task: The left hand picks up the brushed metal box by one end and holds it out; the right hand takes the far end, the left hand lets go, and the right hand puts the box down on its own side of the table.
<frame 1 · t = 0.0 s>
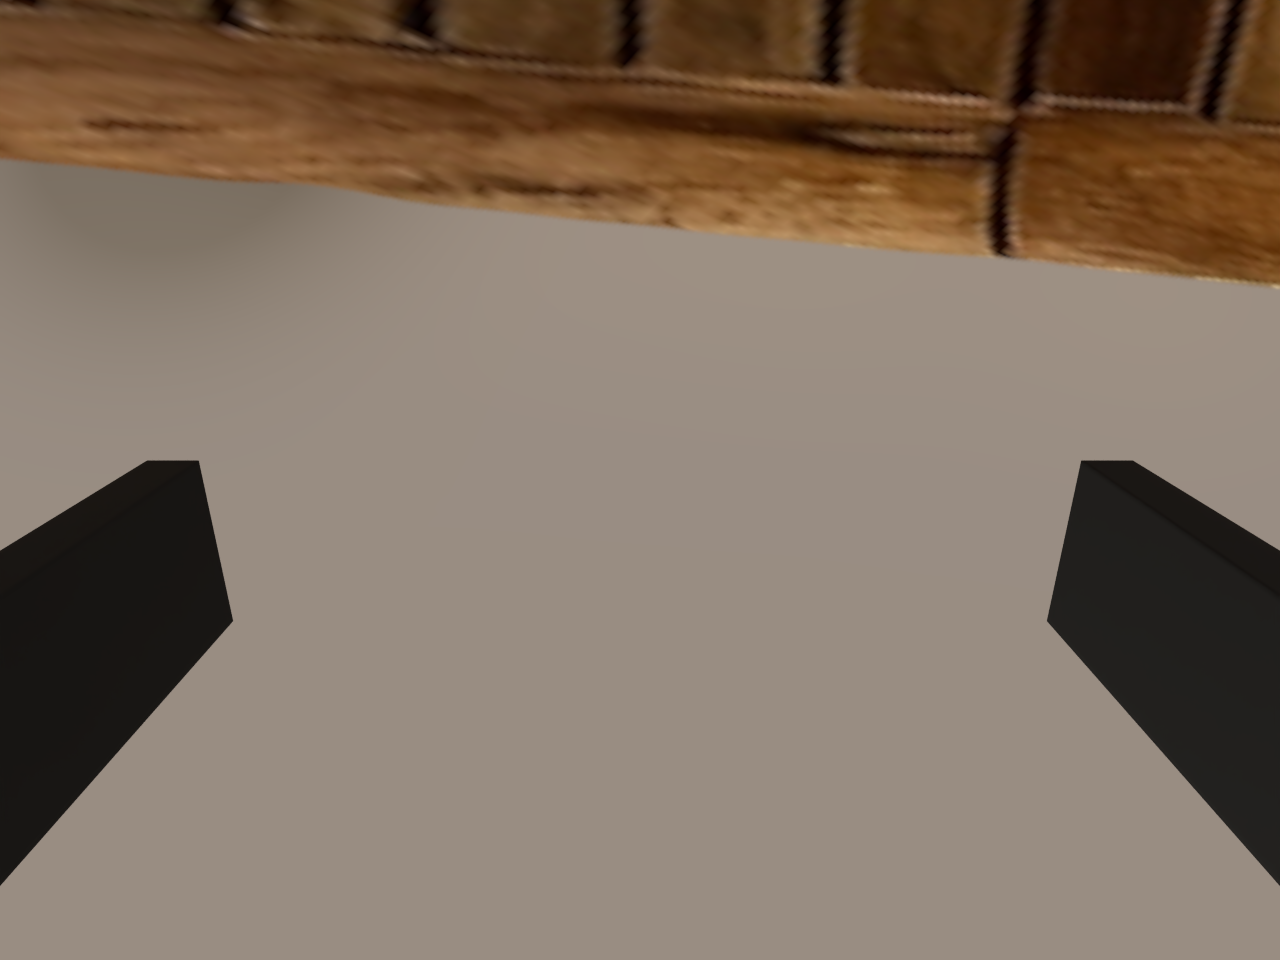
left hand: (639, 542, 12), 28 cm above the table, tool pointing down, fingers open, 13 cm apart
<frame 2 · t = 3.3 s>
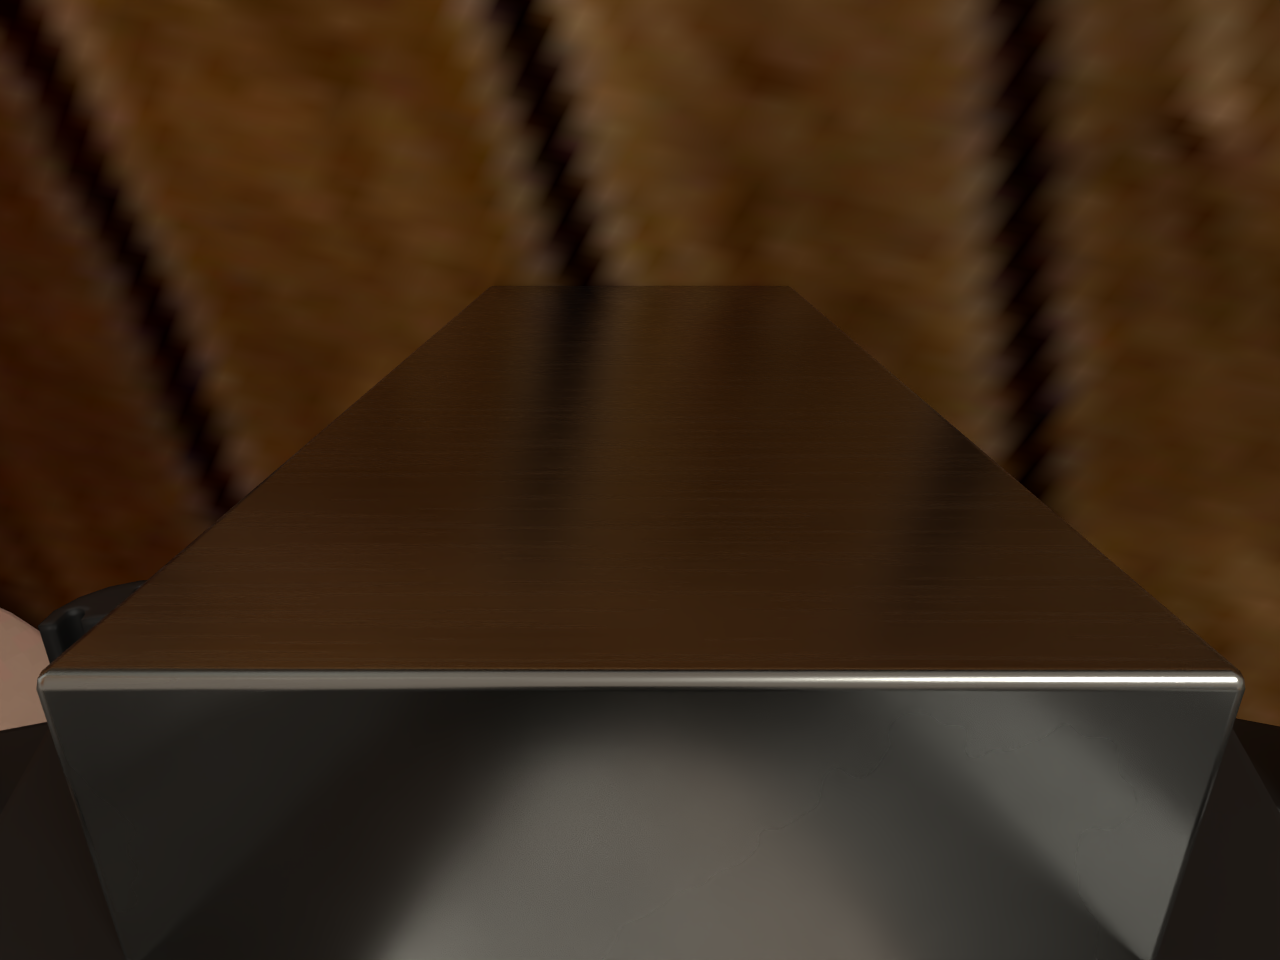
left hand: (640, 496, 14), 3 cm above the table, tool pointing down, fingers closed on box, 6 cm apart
box: (640, 819, 21), on the table, touching left hand
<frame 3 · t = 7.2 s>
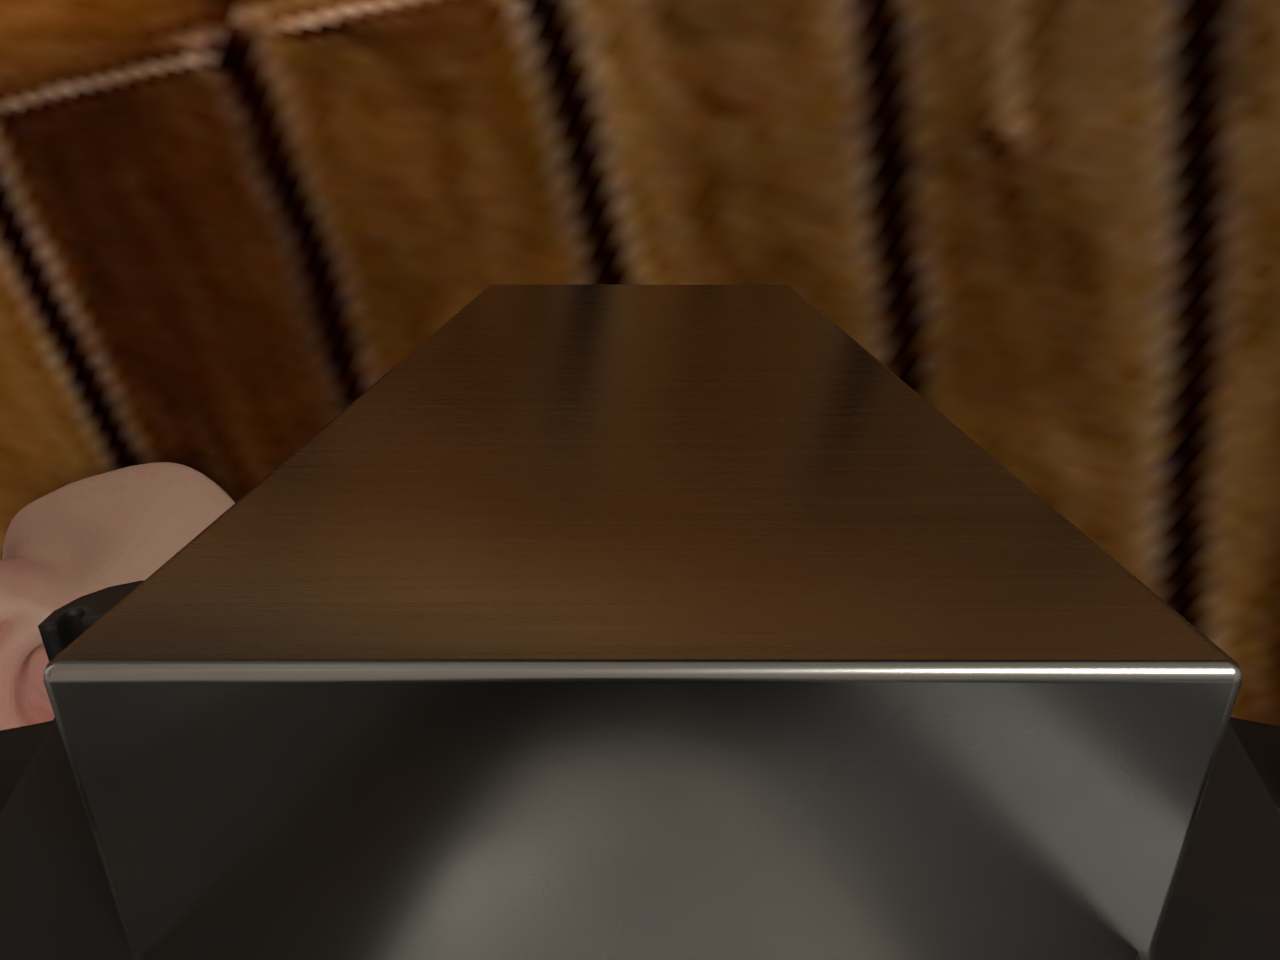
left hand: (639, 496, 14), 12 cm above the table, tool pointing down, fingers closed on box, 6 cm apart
anatomical model: (152, 633, 29), on the table
box: (639, 818, 21), point 9 cm above the table, touching left hand, right hand
when the left hand's fingers open (12 cm above the table, at t = 8.1 s): box stays where it is, held by the right hand.
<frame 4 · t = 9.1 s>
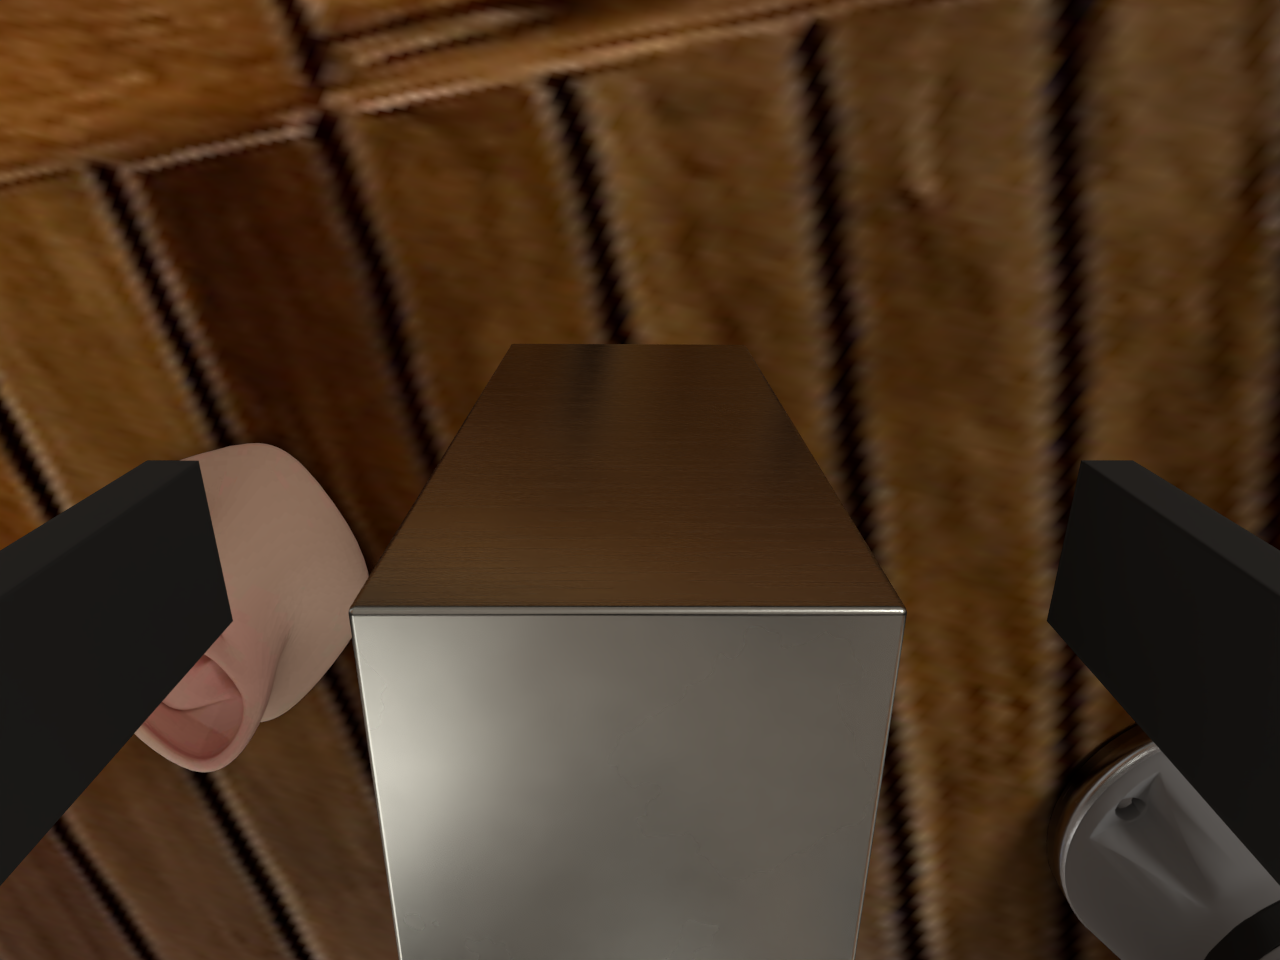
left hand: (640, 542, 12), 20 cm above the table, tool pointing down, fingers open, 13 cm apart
anatomical model: (239, 582, 36), on the table
box: (627, 769, 26), point 11 cm above the table, touching right hand
when the right hand's fingers open (9 cm above the table, at t = 14.8 s): box stays where it is, on the table.
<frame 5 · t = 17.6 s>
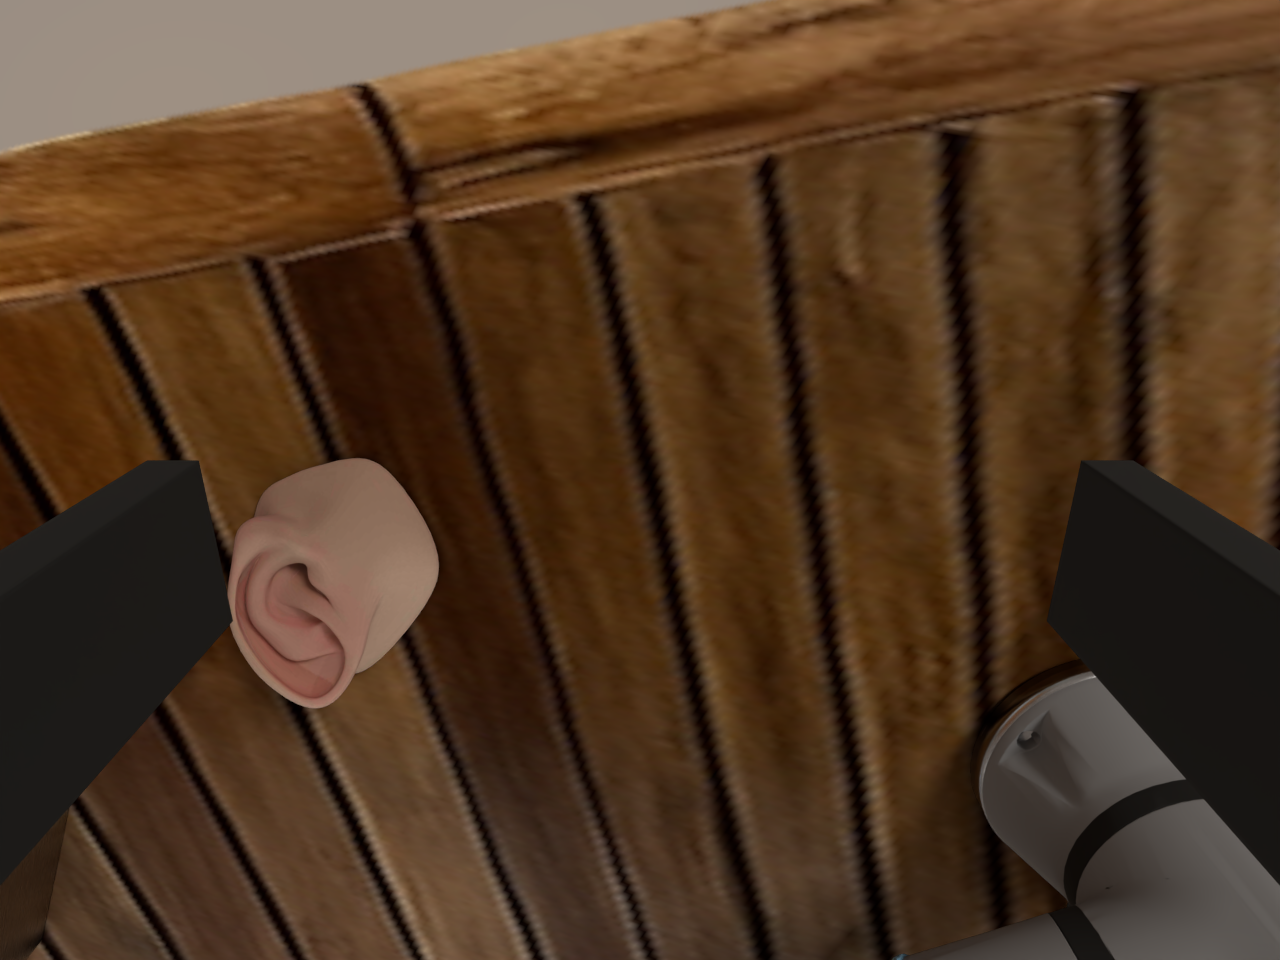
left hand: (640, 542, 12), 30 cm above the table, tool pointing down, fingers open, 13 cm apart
anatomical model: (339, 564, 47), on the table
box: (23, 787, 53), on the table
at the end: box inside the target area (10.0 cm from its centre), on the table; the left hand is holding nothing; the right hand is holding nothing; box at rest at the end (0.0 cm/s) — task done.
